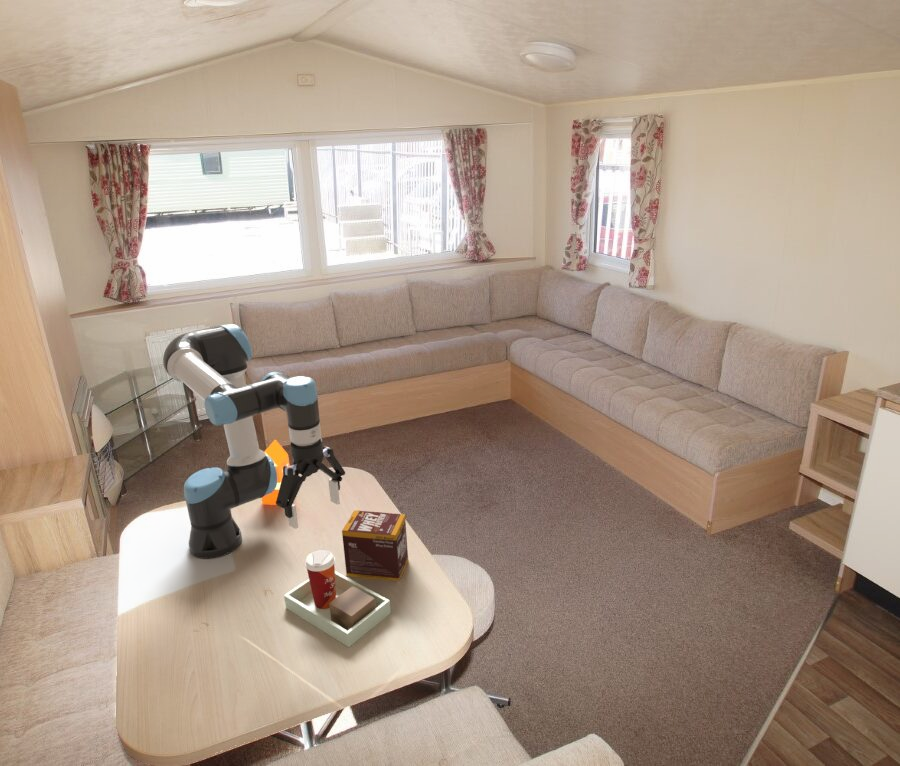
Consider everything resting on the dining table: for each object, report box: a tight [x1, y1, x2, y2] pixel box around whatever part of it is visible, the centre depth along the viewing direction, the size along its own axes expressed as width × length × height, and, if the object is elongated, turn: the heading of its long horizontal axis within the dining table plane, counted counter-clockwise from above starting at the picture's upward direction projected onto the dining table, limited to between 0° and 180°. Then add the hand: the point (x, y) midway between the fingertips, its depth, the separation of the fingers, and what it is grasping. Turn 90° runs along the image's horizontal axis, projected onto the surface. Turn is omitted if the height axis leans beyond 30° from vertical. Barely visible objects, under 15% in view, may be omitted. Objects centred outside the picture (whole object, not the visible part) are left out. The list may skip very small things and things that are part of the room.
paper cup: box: [304, 549, 336, 609], centre depth 171 cm, size 8×8×14 cm
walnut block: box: [329, 586, 376, 631], centre depth 166 cm, size 8×8×6 cm
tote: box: [283, 570, 392, 648], centre depth 170 cm, size 24×15×5 cm, turn 52°
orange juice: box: [261, 439, 291, 506], centre depth 221 cm, size 8×9×20 cm
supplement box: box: [341, 510, 409, 582], centre depth 184 cm, size 10×15×16 cm
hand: (315, 514), depth 168 cm, fingers open, 13 cm apart
